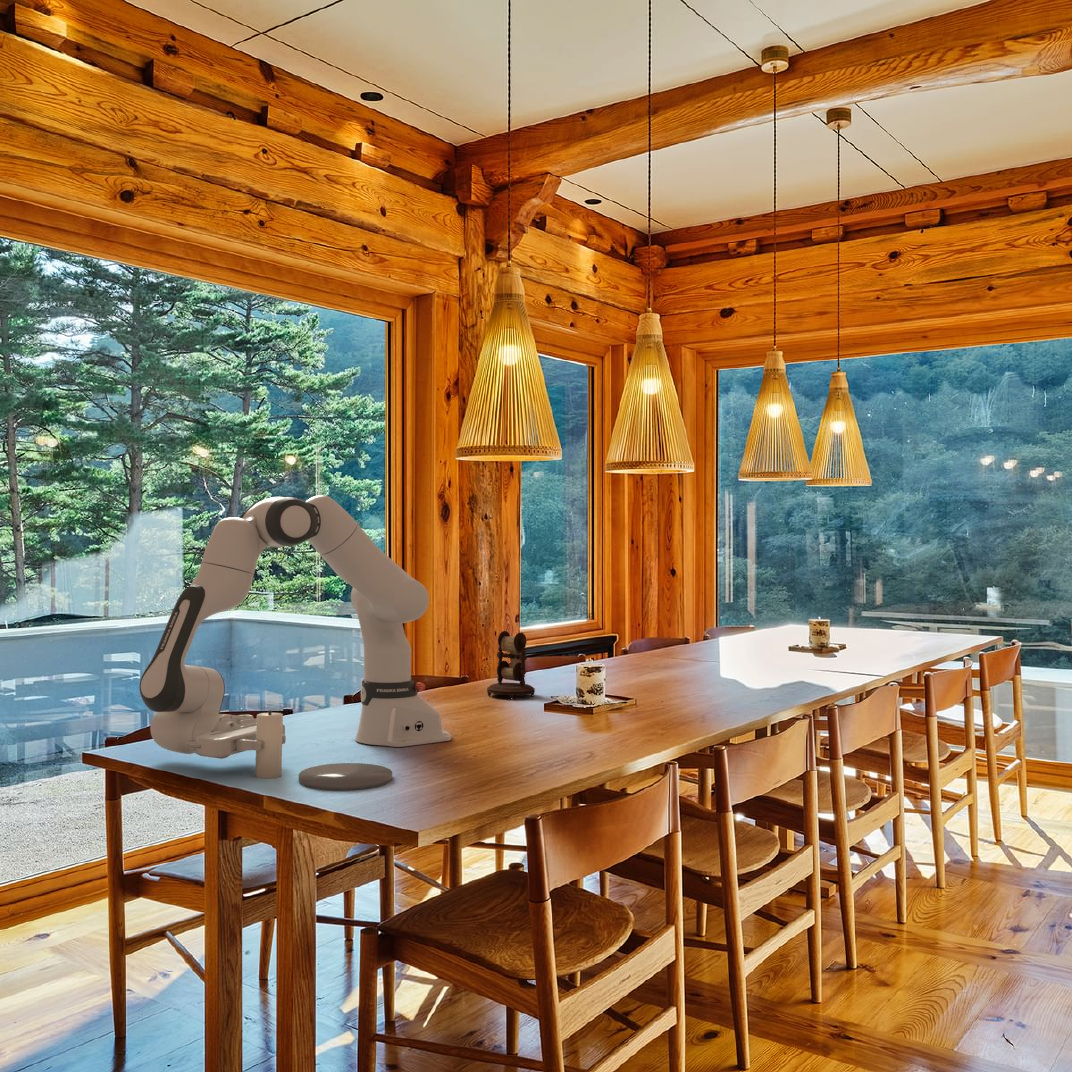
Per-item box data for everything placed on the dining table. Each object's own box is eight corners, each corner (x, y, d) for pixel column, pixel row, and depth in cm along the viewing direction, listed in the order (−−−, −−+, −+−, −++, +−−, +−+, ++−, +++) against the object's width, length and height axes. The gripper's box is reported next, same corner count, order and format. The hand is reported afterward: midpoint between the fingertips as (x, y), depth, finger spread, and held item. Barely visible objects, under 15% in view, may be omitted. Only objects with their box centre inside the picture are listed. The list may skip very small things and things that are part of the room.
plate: (375, 765, 207) (375, 760, 207) (405, 785, 191) (405, 778, 191) (288, 773, 198) (288, 767, 198) (312, 794, 182) (312, 787, 182)
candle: (278, 771, 200) (279, 708, 200) (284, 777, 195) (285, 711, 195) (252, 773, 197) (254, 709, 198) (258, 779, 193) (259, 713, 193)
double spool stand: (544, 696, 307) (545, 632, 307) (512, 701, 295) (513, 634, 296) (509, 691, 316) (510, 628, 317) (477, 696, 305) (478, 631, 305)
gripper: (181, 728, 193) (236, 735, 187) (253, 713, 211) (305, 719, 205) (180, 761, 192) (235, 769, 187) (252, 742, 211) (304, 749, 205)
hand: (272, 742), depth 196 cm, fingers closed on candle, 5 cm apart
